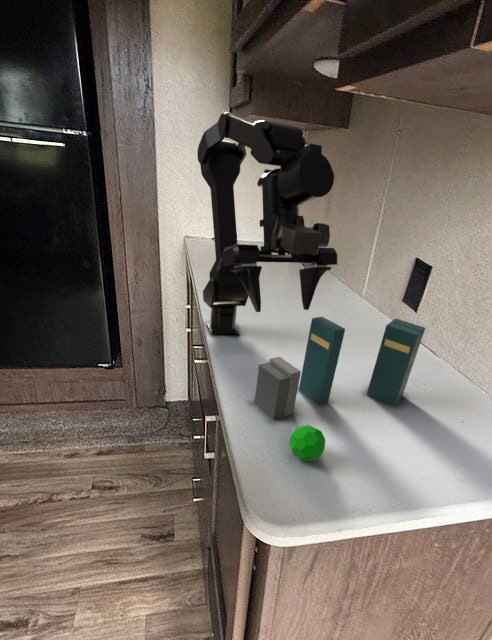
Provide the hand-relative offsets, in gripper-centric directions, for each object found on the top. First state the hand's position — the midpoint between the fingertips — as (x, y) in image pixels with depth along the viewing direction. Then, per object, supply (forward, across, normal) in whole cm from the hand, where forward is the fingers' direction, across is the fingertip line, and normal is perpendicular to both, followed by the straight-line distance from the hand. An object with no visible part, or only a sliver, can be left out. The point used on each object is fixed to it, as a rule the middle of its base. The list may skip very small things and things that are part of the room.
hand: (282, 310), depth 66 cm
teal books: (+16, +20, -4) cm, 26 cm away
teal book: (+15, +6, -1) cm, 16 cm away
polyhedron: (+20, -5, -13) cm, 25 cm away
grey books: (+16, -3, -2) cm, 16 cm away
